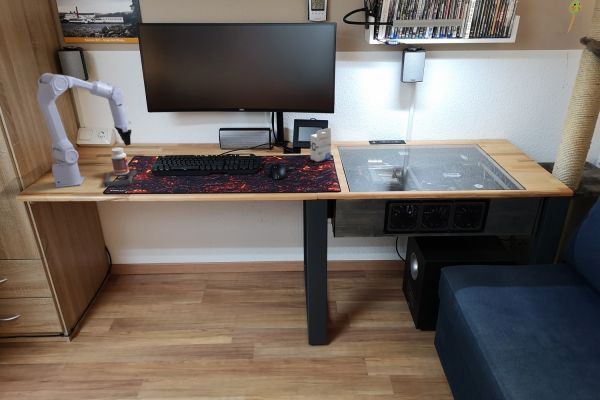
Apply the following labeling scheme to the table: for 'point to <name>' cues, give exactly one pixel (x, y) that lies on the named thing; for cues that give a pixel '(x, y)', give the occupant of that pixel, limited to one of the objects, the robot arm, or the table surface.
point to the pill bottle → (119, 161)
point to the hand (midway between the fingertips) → (126, 142)
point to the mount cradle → (118, 182)
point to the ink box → (321, 145)
